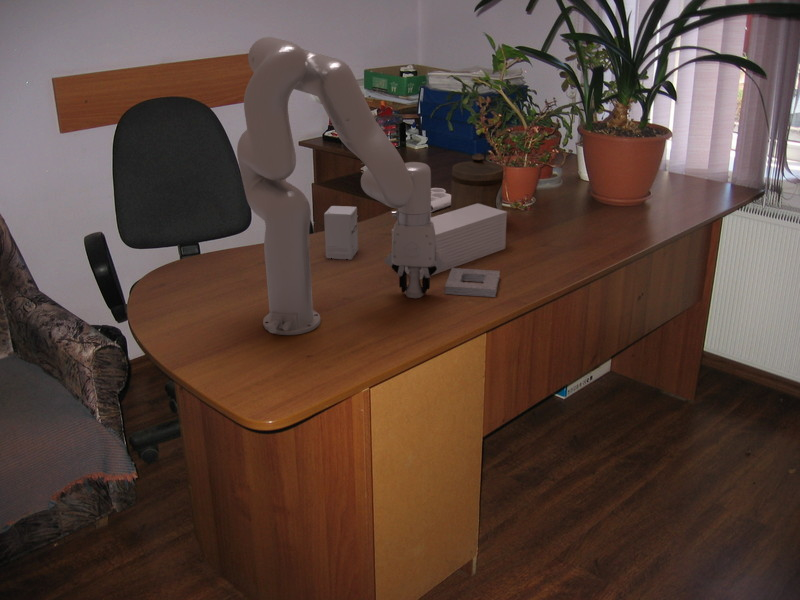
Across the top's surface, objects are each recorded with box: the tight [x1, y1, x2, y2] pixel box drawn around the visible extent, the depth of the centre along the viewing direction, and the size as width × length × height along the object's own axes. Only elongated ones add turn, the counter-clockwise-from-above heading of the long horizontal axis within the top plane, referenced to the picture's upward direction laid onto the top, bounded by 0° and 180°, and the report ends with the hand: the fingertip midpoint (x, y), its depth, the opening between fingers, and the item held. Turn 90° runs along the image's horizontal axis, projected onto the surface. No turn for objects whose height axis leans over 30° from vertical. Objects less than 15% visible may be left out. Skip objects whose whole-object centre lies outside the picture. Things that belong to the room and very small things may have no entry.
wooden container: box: [450, 153, 504, 212], centre depth 236 cm, size 15×15×22 cm
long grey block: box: [391, 203, 508, 280], centre depth 216 cm, size 32×11×11 cm, turn 132°
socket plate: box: [444, 267, 501, 298], centre depth 200 cm, size 12×12×2 cm
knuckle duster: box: [431, 187, 451, 213], centre depth 262 cm, size 3×18×15 cm
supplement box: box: [323, 205, 359, 261], centre depth 219 cm, size 7×7×13 cm
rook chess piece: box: [404, 267, 425, 299], centre depth 194 cm, size 4×4×8 cm
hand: (414, 290), depth 195 cm, fingers closed on rook chess piece, 4 cm apart
